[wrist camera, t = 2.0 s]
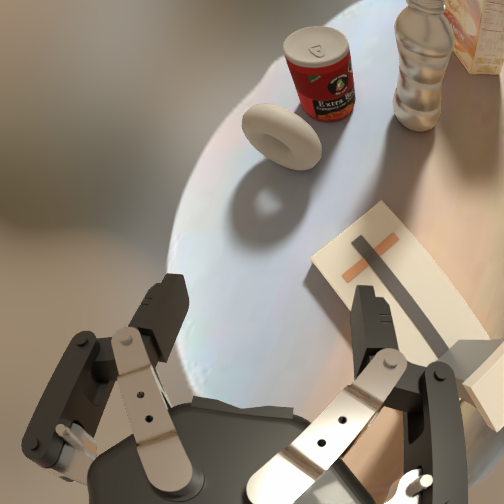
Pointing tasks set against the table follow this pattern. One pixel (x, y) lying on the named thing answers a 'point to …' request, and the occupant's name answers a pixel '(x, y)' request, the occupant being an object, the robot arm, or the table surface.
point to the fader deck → (399, 284)
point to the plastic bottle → (421, 62)
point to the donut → (282, 136)
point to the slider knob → (480, 376)
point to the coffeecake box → (478, 34)
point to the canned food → (321, 72)
